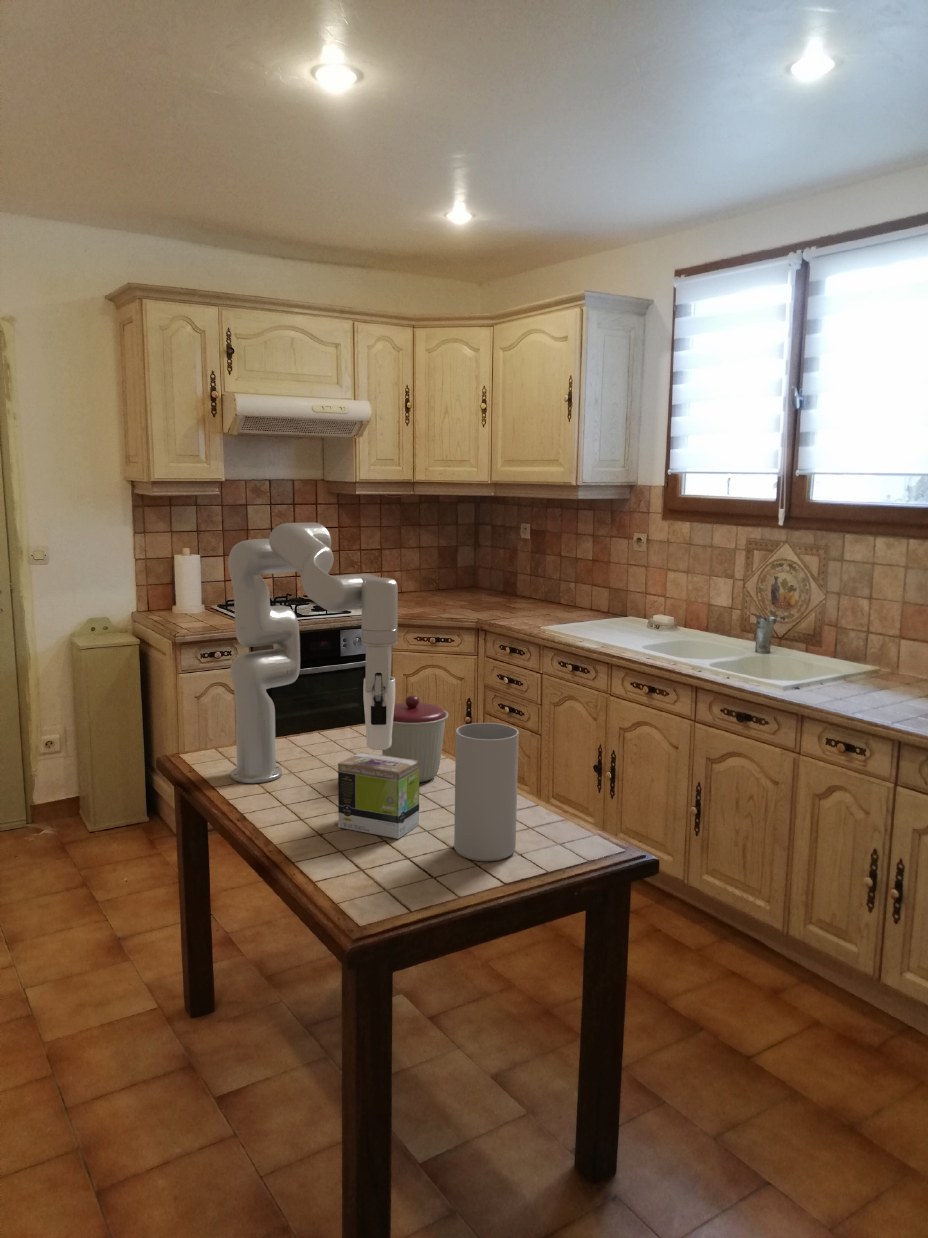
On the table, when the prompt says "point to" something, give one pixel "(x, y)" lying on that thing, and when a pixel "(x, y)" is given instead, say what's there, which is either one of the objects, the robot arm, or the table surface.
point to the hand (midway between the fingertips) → (379, 719)
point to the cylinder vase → (486, 791)
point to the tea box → (378, 794)
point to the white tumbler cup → (379, 734)
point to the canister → (418, 735)
